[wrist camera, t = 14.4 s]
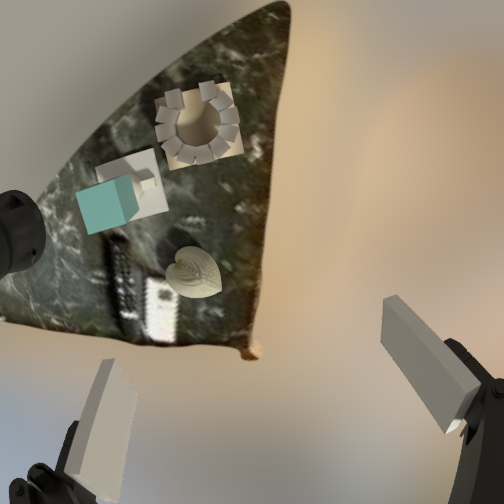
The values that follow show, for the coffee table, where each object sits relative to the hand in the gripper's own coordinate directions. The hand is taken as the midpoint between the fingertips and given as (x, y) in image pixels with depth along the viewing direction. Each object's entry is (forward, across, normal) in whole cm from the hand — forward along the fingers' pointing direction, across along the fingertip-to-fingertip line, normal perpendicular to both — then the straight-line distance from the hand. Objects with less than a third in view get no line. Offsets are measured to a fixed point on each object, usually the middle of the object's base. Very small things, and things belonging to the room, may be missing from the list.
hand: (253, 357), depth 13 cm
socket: (+35, -2, +12) cm, 37 cm away
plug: (+34, -14, +6) cm, 37 cm away
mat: (+35, -14, +6) cm, 38 cm away
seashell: (+35, -8, -10) cm, 37 cm away
